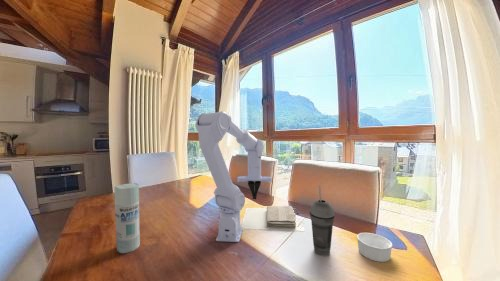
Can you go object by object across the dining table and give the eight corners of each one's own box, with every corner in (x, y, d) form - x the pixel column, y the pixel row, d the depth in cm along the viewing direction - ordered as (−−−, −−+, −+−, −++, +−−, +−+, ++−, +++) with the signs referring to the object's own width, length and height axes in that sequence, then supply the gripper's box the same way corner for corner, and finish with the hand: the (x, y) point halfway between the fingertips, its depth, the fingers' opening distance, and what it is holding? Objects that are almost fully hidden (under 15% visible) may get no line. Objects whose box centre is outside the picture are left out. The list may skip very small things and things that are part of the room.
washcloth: (266, 228, 73) (266, 220, 73) (266, 210, 91) (266, 203, 91) (298, 229, 72) (298, 221, 72) (291, 210, 90) (291, 204, 90)
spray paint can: (135, 239, 66) (134, 182, 66) (143, 246, 62) (141, 185, 62) (113, 248, 61) (111, 186, 61) (120, 256, 57) (118, 189, 57)
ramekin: (350, 246, 61) (350, 232, 61) (377, 244, 62) (377, 231, 62) (369, 264, 53) (369, 249, 52) (400, 263, 53) (400, 247, 53)
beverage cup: (318, 260, 54) (318, 190, 54) (304, 246, 61) (304, 184, 61) (340, 256, 56) (340, 188, 56) (324, 242, 63) (324, 182, 63)
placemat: (304, 231, 71) (304, 231, 71) (240, 229, 73) (240, 228, 73) (296, 209, 92) (296, 209, 92) (246, 208, 94) (246, 207, 94)
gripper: (271, 165, 85) (271, 195, 86) (239, 165, 87) (239, 195, 87) (271, 168, 78) (271, 201, 79) (236, 168, 80) (236, 200, 80)
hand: (254, 198), depth 83 cm, fingers closed
